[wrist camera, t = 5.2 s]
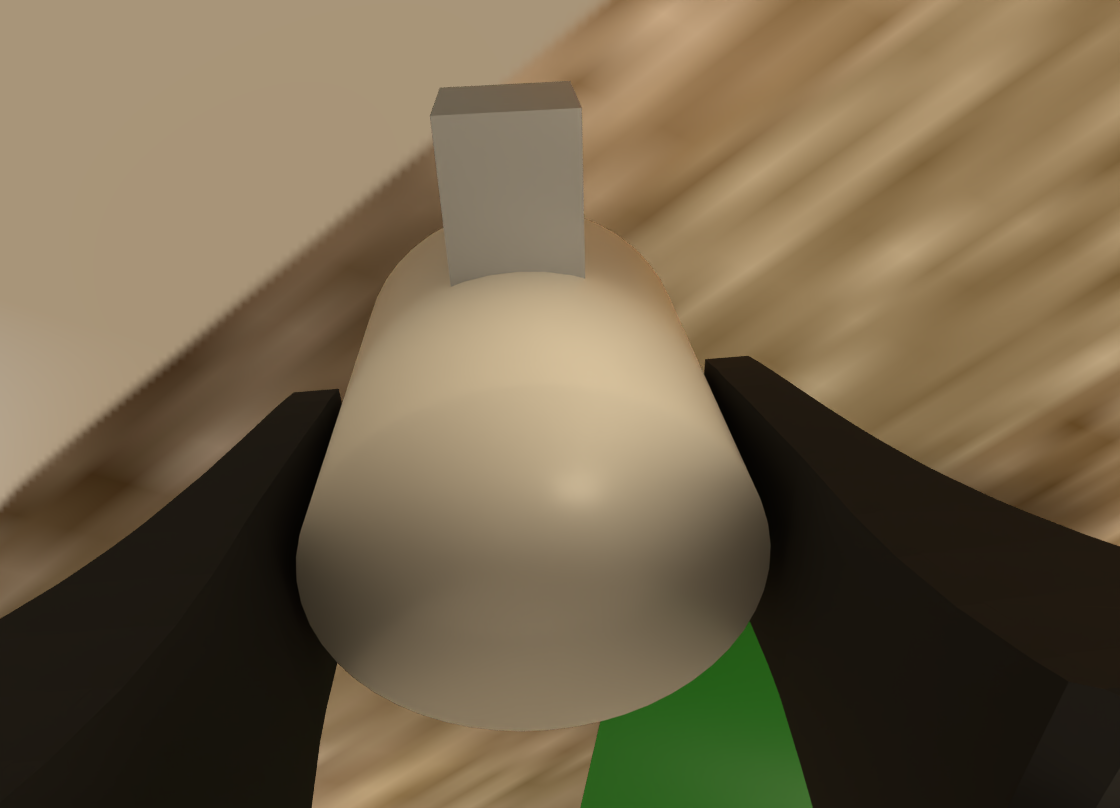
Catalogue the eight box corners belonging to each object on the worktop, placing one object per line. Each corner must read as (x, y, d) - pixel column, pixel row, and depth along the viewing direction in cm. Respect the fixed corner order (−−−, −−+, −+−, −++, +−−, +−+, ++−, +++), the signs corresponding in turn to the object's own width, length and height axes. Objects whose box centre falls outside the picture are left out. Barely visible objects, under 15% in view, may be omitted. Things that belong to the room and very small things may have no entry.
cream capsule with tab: (692, 63, 10) (829, 165, 6) (671, 471, 14) (747, 713, 10) (313, 82, 10) (177, 201, 6) (392, 491, 14) (345, 746, 9)
